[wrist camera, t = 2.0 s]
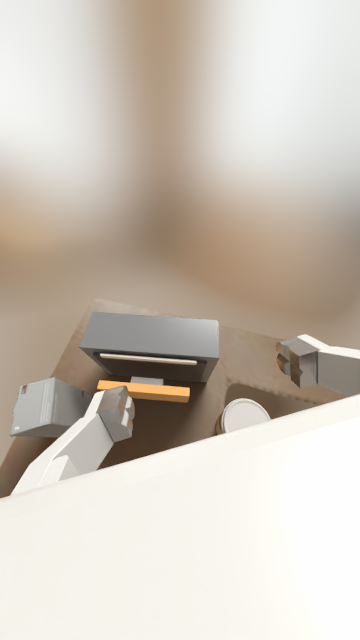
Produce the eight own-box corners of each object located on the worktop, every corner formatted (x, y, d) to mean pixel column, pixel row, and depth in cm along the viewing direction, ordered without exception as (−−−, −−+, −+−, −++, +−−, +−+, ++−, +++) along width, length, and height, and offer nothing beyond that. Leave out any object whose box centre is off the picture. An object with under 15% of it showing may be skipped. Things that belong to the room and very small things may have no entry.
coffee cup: (230, 398, 47) (244, 387, 37) (261, 431, 43) (286, 429, 33) (204, 425, 44) (211, 422, 34) (234, 463, 40) (253, 473, 30)
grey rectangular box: (206, 386, 48) (219, 363, 33) (108, 378, 49) (76, 352, 34) (206, 353, 53) (218, 320, 38) (117, 347, 54) (92, 311, 39)
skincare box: (93, 429, 43) (54, 426, 30) (60, 439, 42) (5, 440, 29) (92, 392, 48) (58, 374, 34) (62, 400, 47) (15, 385, 33)
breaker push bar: (187, 402, 38) (189, 396, 32) (109, 396, 38) (96, 388, 32) (188, 387, 39) (190, 378, 33) (113, 381, 40) (102, 371, 34)
